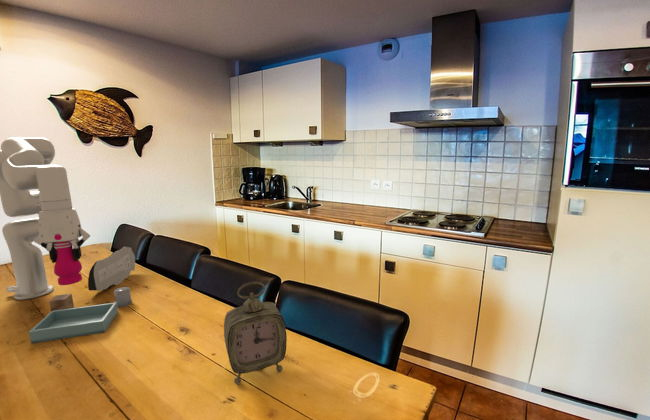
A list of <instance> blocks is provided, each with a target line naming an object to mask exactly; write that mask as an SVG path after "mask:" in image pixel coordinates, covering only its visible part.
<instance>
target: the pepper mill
mask: <svg viewBox="0 0 650 420" xmlns="http://www.w3.org/2000/svg"><path fill="white" fill-rule="evenodd" d="M54 238H55V240H61V239H62V237H61V235H60V234H59V233H57V235H55V236H54ZM54 248H56V250H57V260H56V262H55V263H54V267H53V272H54V275H56V276H57V277H58V278H57V283H58V285H59V286H69V285H73V284H76V283H79V282H81V281H82V280H83V276H82V273H81V271H82V269H83V267H82V266H83V265H82V262H81V261H80V259H78V260H77V261H75V260H74V257H73V252H72V249H74V247H73V245H72V243H71V242H70V241H65V242H55V243H54Z"/></svg>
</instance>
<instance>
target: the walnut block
mask: <svg viewBox="0 0 650 420" xmlns="http://www.w3.org/2000/svg"><path fill="white" fill-rule="evenodd" d="M73 300H74V299H73V295H72V293H65V294H58V295H57V294H56V295H54V296H53V297H52V298H51V299H50V300H49V301H48V304H49V309H50V312H51V311H55V310H63V309H70V308H75V305H74V301H73Z"/></svg>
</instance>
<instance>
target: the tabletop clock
mask: <svg viewBox="0 0 650 420" xmlns="http://www.w3.org/2000/svg"><path fill="white" fill-rule="evenodd" d="M252 285H260V286H261V287H263V290H262V291H261V292H259V293H257V294H254V292H250V293H249V295H247V296H246V295H240V292H241V290H242V289H243V288H245V287H247V286H252ZM265 291H266V286H265V284H264V283H263V282H260V281H250V282H247V283H244V284H242V285H240V287H239V288H238V289H237V293H236V294H237V296H238V297H239V298H240V299H243V300H245V301H244V302H243V304H242V305H241V306H238V307H235V308H232V309H230V310H229V311H227V312H226V314H225V315H224V319H223V321H224V322H223V338H224V342H225V348H226V353H227V356H228V362H229V365H230V368H231V370H232V371H233V373H234V374H237V377H235V379H234V384H236V385H240V384H241V382H242V378H241V376H242V374H248V373H252V372H256V371H260V370H264V369H266V368H269V367H272V366H276V368H275V369H276V372H277V373H281V372H282V371H283V366H282V365H281V364H279V363H280V362H283V360H284V359H285V356H286V352H287V340H288V338H287V330H286V323H285V320H284V319H285V318H284V317H283V316H282V314H281V313H280V310H279V309H278V308H277V306H276V305H275V303H274V302H272V301H261V299H259V298H258V297H260V296H262V295H263V294H264V293H265Z"/></svg>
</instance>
